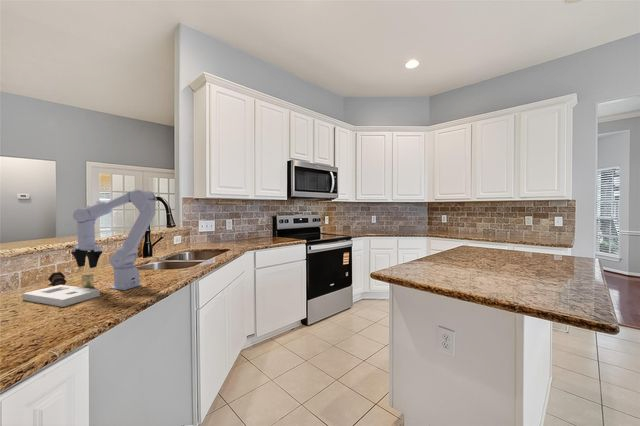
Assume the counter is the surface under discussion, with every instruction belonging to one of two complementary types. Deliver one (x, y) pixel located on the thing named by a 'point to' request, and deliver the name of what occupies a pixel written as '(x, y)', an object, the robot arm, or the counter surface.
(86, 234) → the robot arm
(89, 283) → the brass cylinder
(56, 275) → the bolt
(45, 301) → the fitting plate
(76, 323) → the counter surface
